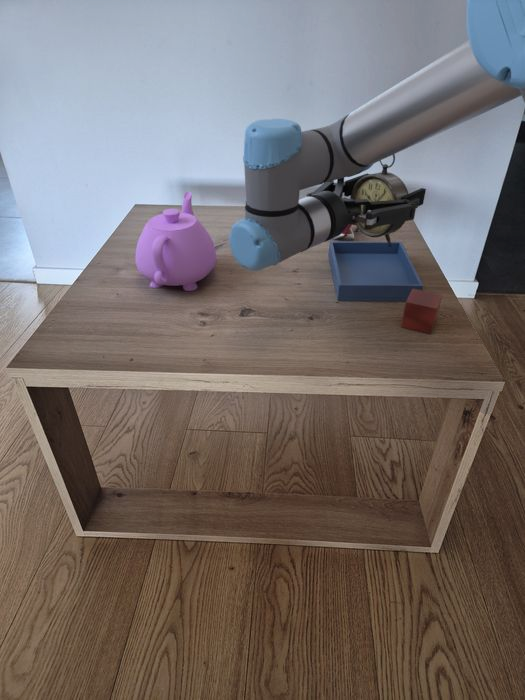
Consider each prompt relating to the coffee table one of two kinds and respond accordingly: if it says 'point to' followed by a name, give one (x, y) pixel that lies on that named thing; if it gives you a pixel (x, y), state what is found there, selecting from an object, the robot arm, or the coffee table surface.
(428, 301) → the red block
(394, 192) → the alarm clock
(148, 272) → the teapot
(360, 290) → the blue tray
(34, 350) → the coffee table surface
